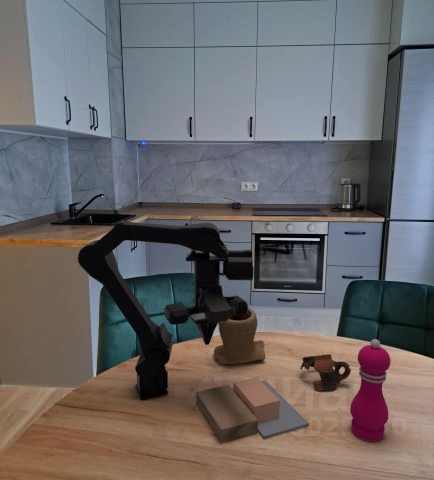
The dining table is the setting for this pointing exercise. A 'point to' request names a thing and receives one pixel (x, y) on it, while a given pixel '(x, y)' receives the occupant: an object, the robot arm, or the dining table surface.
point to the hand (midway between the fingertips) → (206, 344)
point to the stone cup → (239, 340)
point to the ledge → (226, 413)
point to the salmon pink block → (258, 399)
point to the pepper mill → (370, 393)
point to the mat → (281, 418)
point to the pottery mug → (326, 371)
